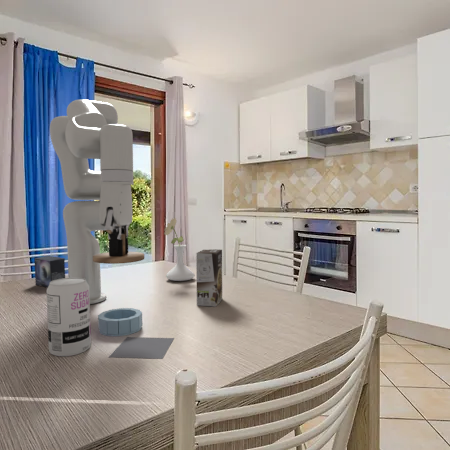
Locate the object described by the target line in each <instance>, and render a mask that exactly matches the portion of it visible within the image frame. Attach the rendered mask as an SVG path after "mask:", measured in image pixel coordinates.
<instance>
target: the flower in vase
mask: <svg viewBox="0 0 450 450" xmlns="http://www.w3.org/2000/svg"><path fill="white" fill-rule="evenodd" d="M176 225H177V218H176V217H174V218H173V217H172V218H171V219H170V222H168V223H167V226H166V227H165V228H164V230H163V231H164V233H163V235H165V236H168V235H170V234H171V233H172V232H173V231H174V234H175V237H174V238H173V239H172V240H171V241H170V244H172V245H173V244H174V245H173V247H174V248H175V251H176V256H177V259H176V260H177V261H176V264H175V266H174V267H172V268H171V269H170V270H169V271H168V272H167V273H166V274H165V275H166V276H165V277H166V279H168V280H170V281H176V282H183V281H184V282H185V281H189V280H192V279H194V277H195V276H196V275H195V273H194V272H193V270H191V269H190V268H189V267H188V266H187V265H186V264H185V263H184V251H185V249H186V247H187V244H180V243H183V242H184V238H183V235H181V236H179V237H178V234H177V233H176V232H177V231H176V230H175V227H176ZM176 242H178V244H175V243H176Z"/></svg>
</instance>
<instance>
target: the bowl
mask: <svg viewBox="0 0 450 450" xmlns="http://www.w3.org/2000/svg"><path fill="white" fill-rule="evenodd" d="M97 323H98V325H97V326H98V331H99V334H100V335H103V336H107V337H122V336H124V337H125V336H128V335H132V334H135V333H138V332H139V331H141V330H142V327H143V312H142V310H140V309H138V308H135V307H134V308H133V307H120V308H112V309H108V310H104V311H103V312H101V313H99V314H98V315H97Z"/></svg>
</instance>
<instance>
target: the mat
mask: <svg viewBox="0 0 450 450" xmlns="http://www.w3.org/2000/svg"><path fill="white" fill-rule="evenodd" d="M174 340H175V338H174V337H148V336H147V337H141V336H140V337H139V336H137V337H136V336H126V337H125V339H124V340H123V341H122V342H121V343H120V344H119V345H118V346H117V347H116V348H115V349H114V350H113V351H112V353H110V354H109V356H108V358H110V359H111V358H115V359H117V358H118V359H120V358H121V359H148V360H149V359H150V360H151V359H154V360H163V358H164V357H165V355H166V354H167V352H168V350H169V348H170V346H171V345H172V343H173V341H174Z"/></svg>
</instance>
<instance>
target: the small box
mask: <svg viewBox="0 0 450 450" xmlns="http://www.w3.org/2000/svg"><path fill="white" fill-rule="evenodd" d="M33 259H34V276H35V280H34V281H35V285H36V286H39V287H42V288H46V289H47V288H48V286H49V284H50V282H51V281H53V280H57V279H63V278H66V268H65V267H66V266H65V265H66V264H65V263H66V261H65V260H66V258H64V257H58V256H52V255H47V256H41V257H40V256H39V257H35V258H33Z"/></svg>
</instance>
